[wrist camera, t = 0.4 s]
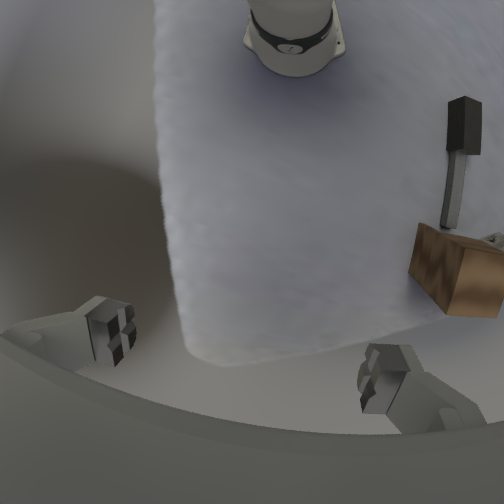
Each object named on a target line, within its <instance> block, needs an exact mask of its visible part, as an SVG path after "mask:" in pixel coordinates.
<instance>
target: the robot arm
mask: <svg viewBox="0 0 504 504" xmlns="http://www.w3.org/2000/svg"><path fill="white" fill-rule="evenodd" d="M247 1H248V3H249V5H250V7H251V13H250V14H249V16H248V19H249V20H250V22H249V25H248V26H247V30H246V33H245V36H244V38H243V42H244V45H245V46H246V47H247V48H249V49H251V50H252V51H254V52H255V53H256V54H257V55H258V57H259V59H260V60H261V61H262V63H263V64H264V65H265V66H267V67H268V68H269V69H271V70H272V71H274V72H276V73H278V74H281V75H285V76H290V77H302V76H307V75H311V74H314V73H316V72H318V71H319V70H321V69H322V68H324V67H325V66H326V65H327V64H328V62H329V61H330V60H332V59H333V58H336V57H338V56H341V55H343V54H344V53H345V43H344V38H343V34H342V29H341V25H340V21H339V16H338V12H337V8H336V4H335V1H334V0H247ZM338 42H339V43H340V44H339V45H338V44H337V43H338ZM134 317H135V312H134V307H133V306H132V305H131V304H128V303H124V302H120V301H117V300H113V299H109V298H106V297H102V296H95V297H94V298H92V299H91V300H89V301H88V302H87V303H85V304H84V305H83V306H81V307H80V308H78V309H77V310H76V311H74V312H73V313H72V312H66V313H62V314H57V315H52V316H47V317H42V318H37V319H32V320H28V321H23V322H18V323H16V324H15V325H13V326H12V327H10V328H9V329H7V330H6V331H4V332H3V333H2V334H0V504H504V421H500V422H495V423H490V424H487V422H486V421H485V418H484V416H483V415H482V413H481V411H480V409H479V407H478V405H477V404H476V403H474V402H473V401H471V400H470V399H468V398H467V397H465V396H464V395H462V394H461V393H459V392H458V391H456V390H455V389H453V388H452V387H450V386H449V385H447V384H446V383H444V382H443V381H441V380H440V379H438V378H437V377H435V376H433V375H432V374H431V373H429V372H424V369H423V367H422V365H421V363H420V361H419V359H418V357H417V355H416V353H415V352H414V350H413V348H412V346H410V345H394V344H393V345H391V344H372V343H370V344H369V345H368V347H367V349H366V352H365V356H366V361H365V362H363V363H362V364H361V366H360V369H359V372H358V379H357V386H358V391H359V392H360V393H362V396H361V398H360V402H361V408H362V413H368V414H386V416H387V417H388V418H389V419H390V421H391V422H392V423H393V424H394V425H395V426H396V427H397V428H398V429H399V431H400V432H401V433H402V434H386V435H357V434H332V433H331V434H330V433H317V432H304V431H295V430H285V429H278V428H271V427H264V426H257V425H251V424H245V423H239V422H234V421H229V420H223V419H219V418H214V417H210V416H206V415H201V414H197V413H193V412H189V411H185V410H181V409H178V408H173V407H170V406H167V405H163V404H160V403H156V402H153V401H150V400H147V399H144V398H141V397H138V396H135V395H132V394H129V393H126V392H123V391H120V390H118V389H115V388H112V387H109V386H107V385H104V384H102V383H99V382H96V381H94V380H92V379H89V378H87V377H84V376H82V375H79V374H77V373H75V371H77V370H79V369H81V368H84V367H86V366H88V365H90V364H92V363H95V361H97V362H100V363H102V364H105V365H108V366H112V367H116V366H117V364H118V363H119V362H120V361H121V360H122V359H123V358H124V356H123V353H124V352H126V351H129V350H130V349H131V348H132V347H133V346H134V343H135V340H136V334H137V332H136V326H135V325H134V323H133V321H132V320H133V318H134Z"/></svg>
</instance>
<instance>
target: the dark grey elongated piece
mask: <svg viewBox="0 0 504 504" xmlns="http://www.w3.org/2000/svg"><path fill="white" fill-rule="evenodd" d="M481 133H482V103H481V102H479V101H476V100H474V99H472V98H469V97H467V96H463V97H460V98H458V99H455V100H452V101H450V102H448V129H447V145H446V150H447V151H450V158H449V168H448V177H447V185H446V193H445V199H444V206H443V212H442V218H441V223H440V225H442V226H445V227H448V228H452V229H456V227H457V222H458V217H459V211H460V205H461V198H462V191H463V184H464V175H465V166H466V155H480V152H481Z"/></svg>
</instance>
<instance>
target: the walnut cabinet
mask: <svg viewBox="0 0 504 504" xmlns="http://www.w3.org/2000/svg"><path fill="white" fill-rule="evenodd" d="M408 273H409V274H410V275H411V276H412V277H413V278H414V279H415V280H416V281H417V282H418V283H419V285H420V286H421V287H422V288H423V289H424V290H425V291H426V292H427V293H428V295H429V296H430V297H431V298H432V299H433V300H434V301H435V303H436V304H437V305H438V306H439V307H440V308H441V310H442V311H443V312H444V313H445V314H446V315H452V316H467V317H484V318H497V316H498V313H499V310H500V307H501V305H502V301H503V299H504V252H503V251H501V250H499V249H497V248H495V247H493V246H491V245H490V244H488V243H486V242H484V241H481V240H477V239H472V238H467V237H462V236H457V235H452V234H447V233H442V232H439V231H437V230H435V229H433V228H432V227H430V226H428V225H426V224H423V223H419V225H418V230H417V236H416V241H415V245H414V250H413V255H412V259H411V263H410V267H409V272H408Z"/></svg>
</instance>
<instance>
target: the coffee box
mask: <svg viewBox="0 0 504 504" xmlns="http://www.w3.org/2000/svg"><path fill="white" fill-rule="evenodd" d="M480 240H481V241H484V242H486V243H488V244H490V245H491V246H493V247H495V248H497V249H499V250H501V251H503V252H504V235H503V234H501V233H499V232H498V233H495V234H493V235H490V236H487V237H485V238H482V239H480Z"/></svg>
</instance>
